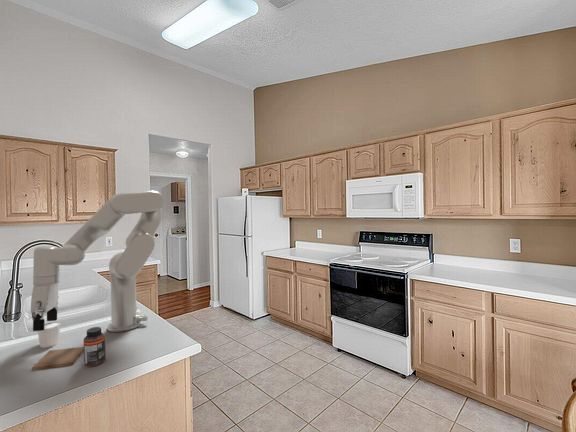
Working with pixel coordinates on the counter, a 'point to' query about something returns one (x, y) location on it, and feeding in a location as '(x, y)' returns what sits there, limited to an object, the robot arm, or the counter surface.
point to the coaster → (59, 358)
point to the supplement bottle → (94, 347)
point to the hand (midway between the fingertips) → (45, 325)
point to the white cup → (49, 334)
